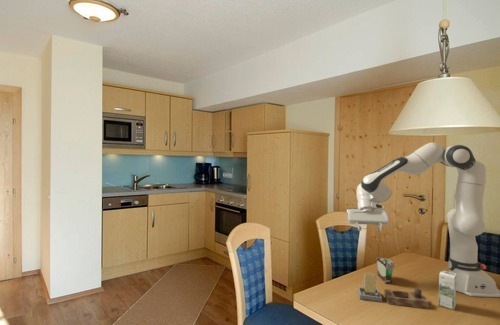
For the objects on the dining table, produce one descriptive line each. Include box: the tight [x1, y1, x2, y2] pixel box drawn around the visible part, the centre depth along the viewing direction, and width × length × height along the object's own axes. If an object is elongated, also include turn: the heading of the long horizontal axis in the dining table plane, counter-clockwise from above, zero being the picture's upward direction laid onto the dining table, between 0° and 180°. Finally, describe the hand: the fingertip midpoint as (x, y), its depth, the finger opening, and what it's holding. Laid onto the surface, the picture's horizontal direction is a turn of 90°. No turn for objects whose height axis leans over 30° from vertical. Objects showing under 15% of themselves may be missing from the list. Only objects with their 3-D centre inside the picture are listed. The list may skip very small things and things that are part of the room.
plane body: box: [383, 288, 429, 310], centre depth 130 cm, size 16×8×6 cm, turn 76°
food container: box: [376, 256, 395, 284], centre depth 153 cm, size 12×6×10 cm, turn 179°
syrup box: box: [438, 270, 457, 311], centre depth 127 cm, size 6×6×14 cm
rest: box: [357, 286, 383, 303], centre depth 135 cm, size 9×8×2 cm
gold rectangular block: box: [363, 272, 377, 296], centre depth 135 cm, size 4×4×10 cm
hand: (369, 230), depth 149 cm, fingers open, 8 cm apart
